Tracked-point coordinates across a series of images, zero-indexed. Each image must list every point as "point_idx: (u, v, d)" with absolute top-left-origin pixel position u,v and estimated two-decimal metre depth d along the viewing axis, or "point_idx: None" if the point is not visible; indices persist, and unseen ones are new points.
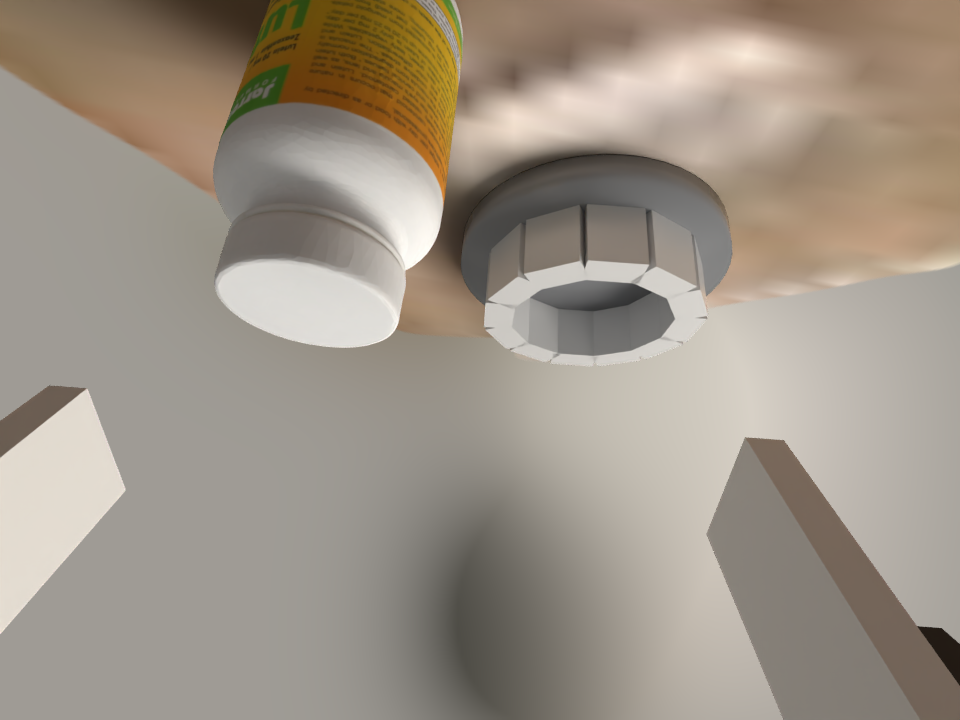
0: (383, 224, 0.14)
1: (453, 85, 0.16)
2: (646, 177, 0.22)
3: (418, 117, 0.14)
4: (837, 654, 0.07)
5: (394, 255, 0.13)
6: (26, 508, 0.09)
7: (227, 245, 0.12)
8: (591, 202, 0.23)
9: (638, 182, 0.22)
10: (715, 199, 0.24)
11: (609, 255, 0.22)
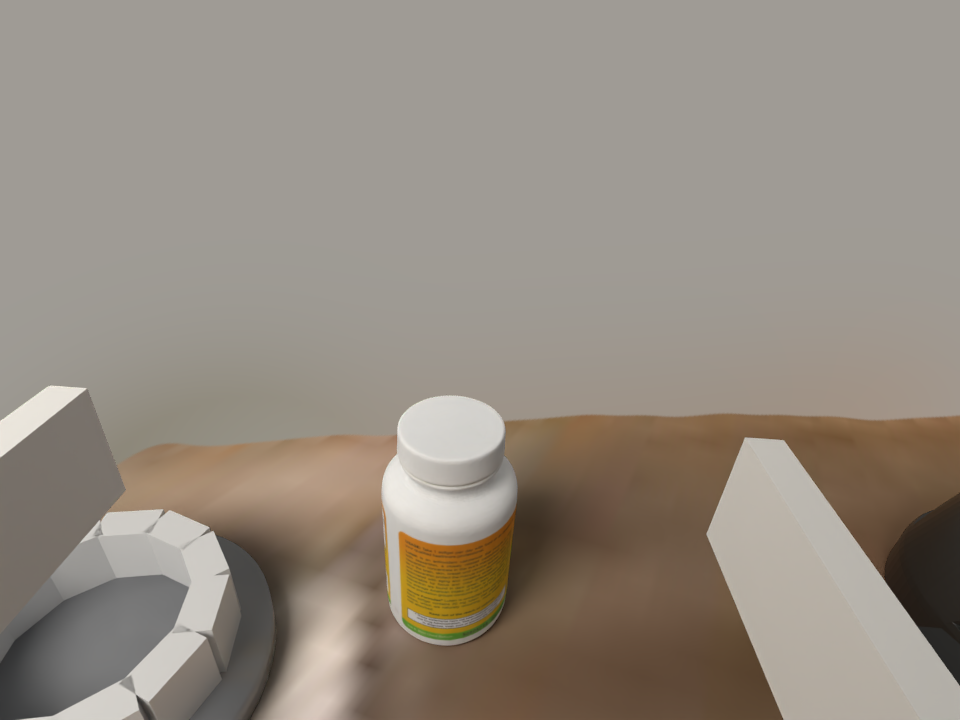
0: (455, 496, 0.22)
1: (430, 604, 0.24)
2: None
3: (466, 560, 0.22)
4: (837, 654, 0.07)
5: (446, 486, 0.21)
6: (26, 508, 0.09)
7: None
8: (221, 685, 0.22)
9: None
10: None
11: (189, 663, 0.20)
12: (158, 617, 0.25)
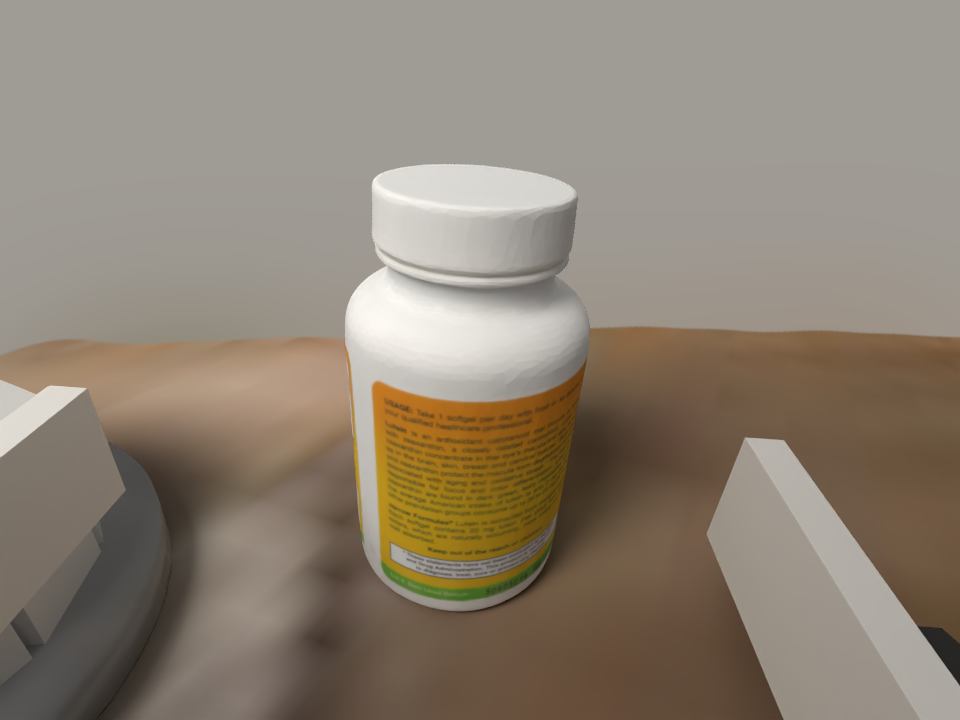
0: (481, 307, 0.11)
1: (430, 531, 0.13)
2: None
3: (500, 440, 0.12)
4: (837, 654, 0.07)
5: (464, 276, 0.11)
6: (26, 508, 0.09)
7: None
8: (27, 668, 0.12)
9: None
10: None
11: None
12: None
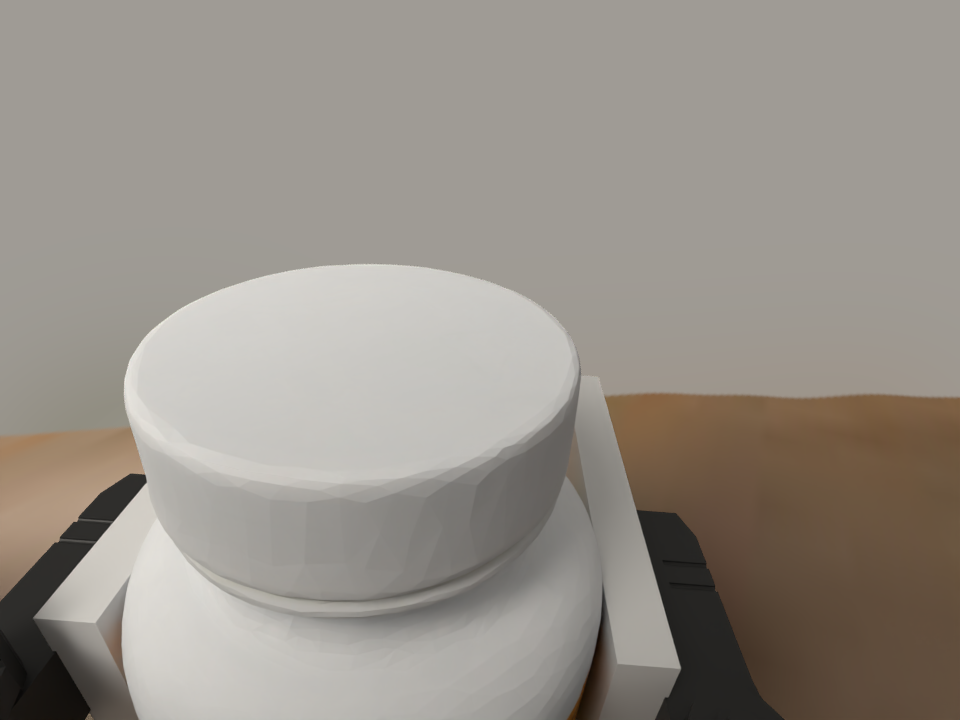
0: (369, 631, 0.05)
1: None
2: None
3: None
4: None
5: (315, 601, 0.04)
6: None
7: None
8: None
9: None
10: None
11: None
12: None
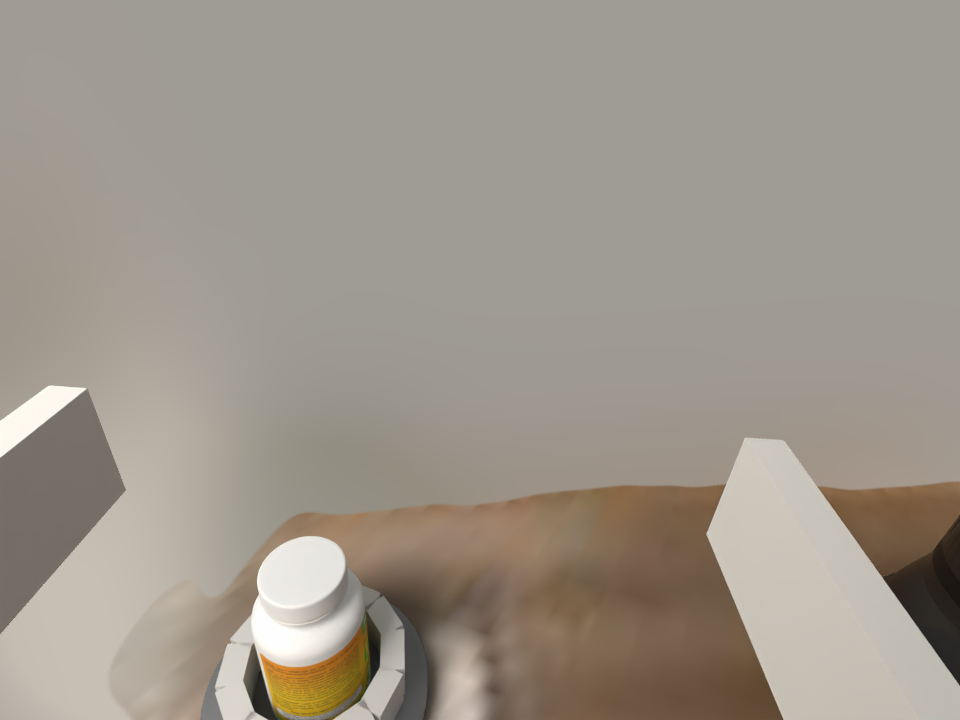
0: (300, 628, 0.28)
1: (290, 706, 0.30)
2: None
3: (312, 676, 0.28)
4: (837, 654, 0.07)
5: (290, 623, 0.27)
6: (26, 508, 0.09)
7: None
8: (404, 704, 0.33)
9: None
10: None
11: (395, 691, 0.32)
12: None
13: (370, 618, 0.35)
